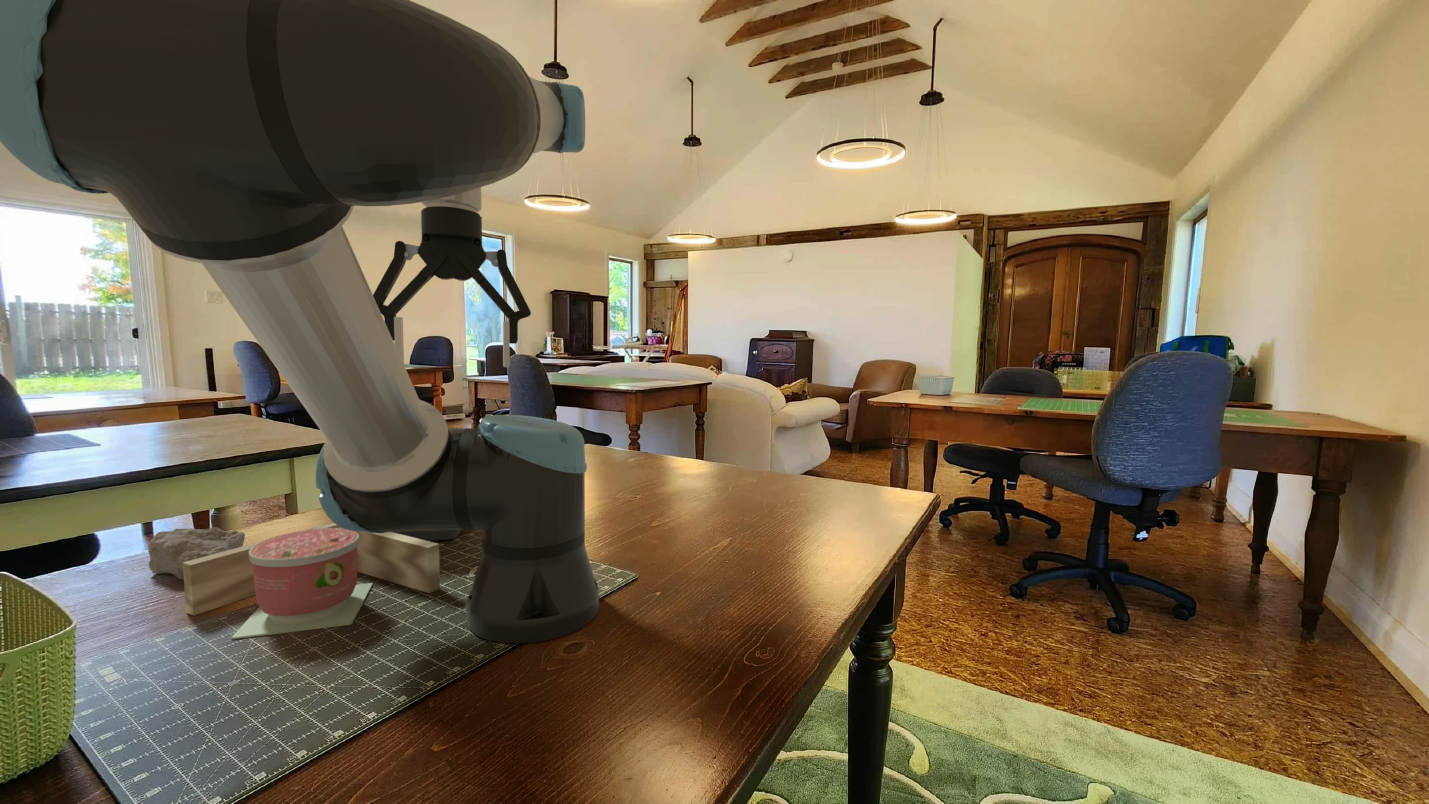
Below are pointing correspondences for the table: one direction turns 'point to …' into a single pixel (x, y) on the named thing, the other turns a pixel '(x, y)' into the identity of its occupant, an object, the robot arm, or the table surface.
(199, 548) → the stone
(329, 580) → the container
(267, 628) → the plate
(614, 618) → the table surface
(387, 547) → the corner walls
